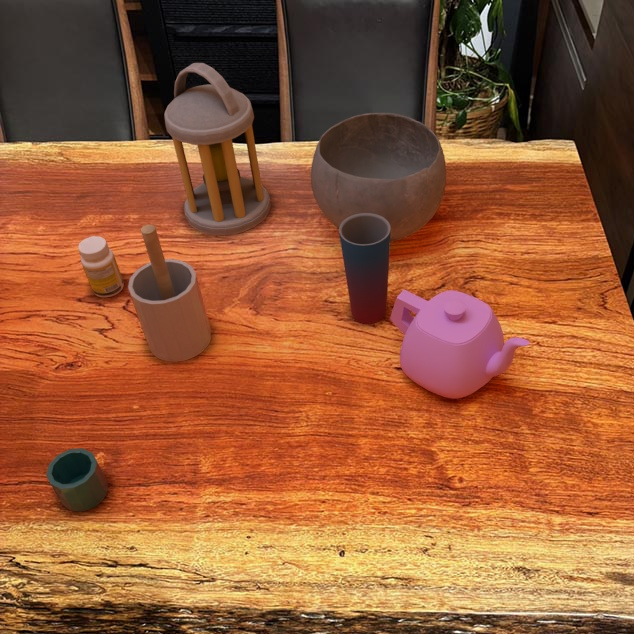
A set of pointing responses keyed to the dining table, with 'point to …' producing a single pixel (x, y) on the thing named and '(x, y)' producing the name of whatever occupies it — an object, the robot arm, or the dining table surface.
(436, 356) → the teapot
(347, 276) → the cup
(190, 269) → the grey pencil pot
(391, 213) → the bowl
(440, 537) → the dining table surface
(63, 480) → the holder
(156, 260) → the wooden handled tool
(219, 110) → the lantern
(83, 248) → the supplement bottle
